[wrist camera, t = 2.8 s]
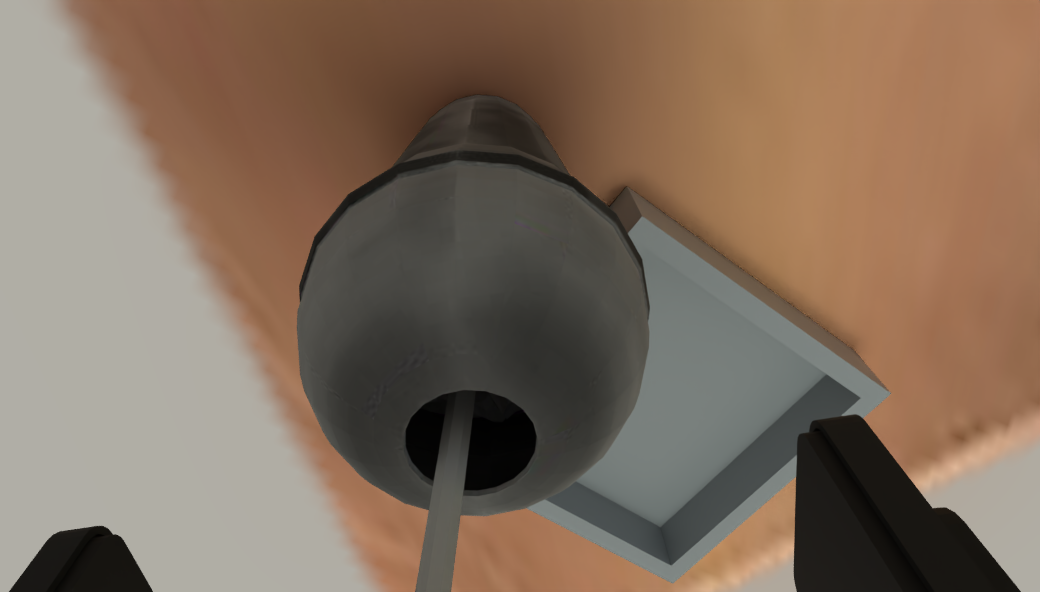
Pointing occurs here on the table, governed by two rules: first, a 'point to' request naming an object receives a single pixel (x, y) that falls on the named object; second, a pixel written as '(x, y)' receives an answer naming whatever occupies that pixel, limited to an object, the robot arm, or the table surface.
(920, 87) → the table surface
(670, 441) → the tray
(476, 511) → the beverage cup
